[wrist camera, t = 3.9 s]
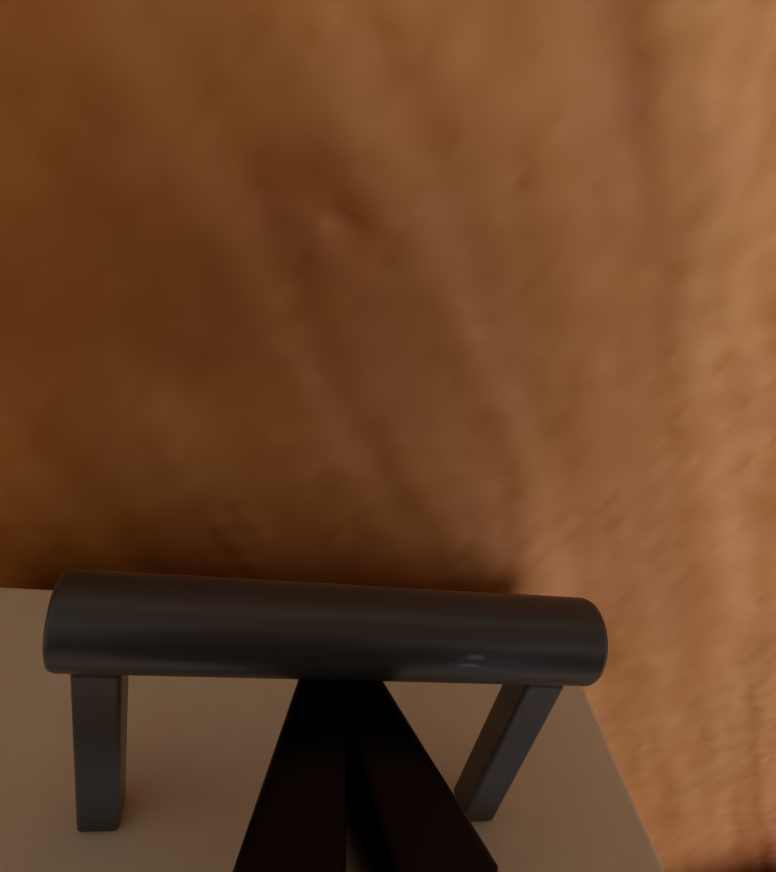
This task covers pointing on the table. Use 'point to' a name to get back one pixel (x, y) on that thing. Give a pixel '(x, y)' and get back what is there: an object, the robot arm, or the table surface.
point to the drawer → (267, 707)
